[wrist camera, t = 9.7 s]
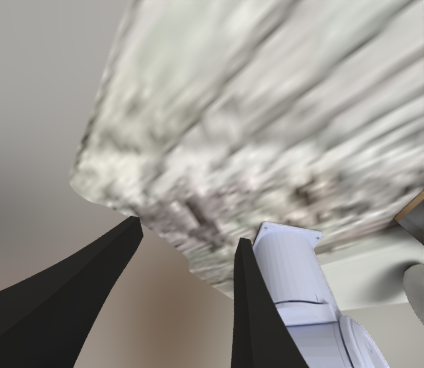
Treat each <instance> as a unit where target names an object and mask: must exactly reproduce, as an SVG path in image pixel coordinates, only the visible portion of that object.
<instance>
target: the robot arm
mask: <svg viewBox="0 0 424 368" xmlns="http://www.w3.org/2000/svg"><path fill="white" fill-rule="evenodd" d="M264 227H266V228H264ZM322 237H323V233H322V232H319V231H314V230H309V229H303V228H298V227H293V226H287V225H282V224H277V223H271V222H263V223H262V226H261V228H260V230H259V233H258V235H257V238H256V240H255V243H254V245H253V248H252V244H251V240H250V239H246V238H241V237H240V240H239V243H238V247H237V250H236V253H235V260H234V328H233V344H232V359H231V368H390V367H389V365H388V363H387V362H386V360H385V358H384V356H383V355H382V353H381V351H380V350H379V348H378V347H377V345H376V344H375V342H374V340H373V339H372V338H371V336H370V335H369V333H368V332H367V331H366V329H365V328H364V327H363V326H362V325H361V324H359V323H358V322H356V321H355V320H354V319H352V318H351V317H350V316H343V315H342V314H341V312H340V310H339V308H338V305H337V303H336V301H335V298H334V296H333V294H332V291H331V289H330V287H329V284H328V282H327V280H326V277H325V275H324V273H323V271H322V268H321V266H320V264H319V261H318V259H317V257H316V254H315V252H314V250H313V249H314V247H315V246H316V245H317V244H318V242H319V241H320V240H321V238H322ZM142 238H143V232H142V228H141V223H140V219H139V217H135V216H130V217H129V218H127V219H126V220H124V221H123V222H121V223H120V224H119V225H117V226H116V227H114V228H113V229H111V230H110V231H109V232H107V233H106V234H104V235H103V236H101V237H100V238H98V239H97V240H95V241H94V242H92V243H91V244H89V245H87V246H86V247H84V248H83V249H81V250H79V251H78V252H76V253H75V254H73V255H71V256H69V257H68V258H66V259H64V260H62V261H60V262H59V263H57V264H55V265H53V266H51V267H49V268H47V269H45V270H43V271H41V272H39V273H37V274H35V275H33V276H31V277H30V278H27V279H25V280H23V281H21V282H19V283H17V284H15V285H13V286H10V287H8V288H6V289H4V290H1V291H0V368H73V367H74V364H75V362H76V360H77V358H78V356H79V353H80V351H81V349H82V347H83V344H84V342H85V340H86V338H87V336H88V333H89V332H90V330H91V328H92V326H93V324H94V321H95V320H96V318H97V316H98V313H99V312H100V310H101V308H102V306H103V304H104V302H105V300H106V298H107V296H108V295H109V293H110V291H111V289H112V287H113V286H114V284H115V282H116V281H117V279H118V278H119V276H120V275H121V273H122V272H123V270H124V269H125V267H126V266H127V264H128V262H129V261H130V259H131V258H132V256H133V255H134V253H135V252H136V250H137V248H138V246H139V244H140V242H141V240H142Z"/></svg>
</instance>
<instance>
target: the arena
mask: <svg viewBox="0 0 424 368" xmlns="http://www.w3.org/2000/svg"><path fill="white" fill-rule="evenodd" d="M394 219H395V220H396V221H397V222H398V223H399V224H400V225H401V226H403V227H404V228H405V229H406V230H407V231H408V232H409V233H410V234H412V235H413V236H414V237H415V238H416V239H417V240H418V241H419V242H421V243H422V244H423V245H424V191H422V192H421V193H420V194H419V195H418V196H417V197H416V198H415V199H414V200H413V201H412V202H411V203H409V204H408V205H407V206H406V207H405V208H404V209H403V210H402V211H401V212H400V213H399V214H398V215H397V216H395V217H394Z"/></svg>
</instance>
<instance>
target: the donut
mask: <svg viewBox="0 0 424 368" xmlns="http://www.w3.org/2000/svg"><path fill="white" fill-rule="evenodd" d="M403 285H404V290H405V293H406V296H407V298H408V301H409V303H410V304H411V306H412V308H413V310H414V312H415V314H416V315H417V316H418V318H419V319H420V321H421V322H422V323H423V325H424V264H418V265H413V266H411V267H410V268H409V269H407V270H406V271H405V273H404V277H403Z"/></svg>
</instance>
